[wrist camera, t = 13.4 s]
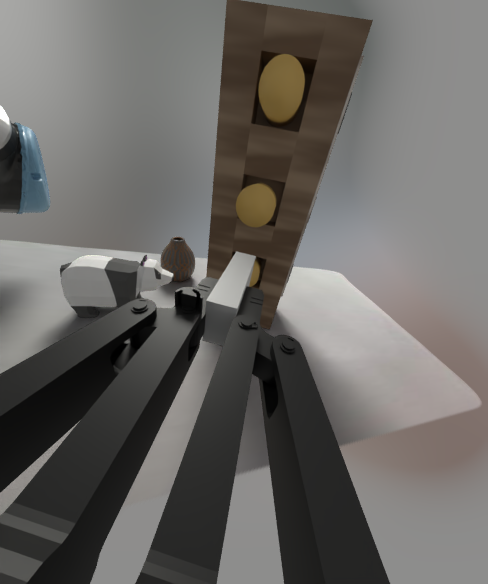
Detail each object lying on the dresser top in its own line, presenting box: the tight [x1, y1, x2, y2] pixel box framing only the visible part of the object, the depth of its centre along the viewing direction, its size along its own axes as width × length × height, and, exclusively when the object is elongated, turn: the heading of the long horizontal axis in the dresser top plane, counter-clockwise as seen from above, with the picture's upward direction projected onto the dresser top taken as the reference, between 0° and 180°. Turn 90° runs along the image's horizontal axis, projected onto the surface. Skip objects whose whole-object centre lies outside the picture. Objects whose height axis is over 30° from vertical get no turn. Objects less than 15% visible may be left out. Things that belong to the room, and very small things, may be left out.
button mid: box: [236, 183, 276, 227], centre depth 21 cm, size 4×4×4 cm
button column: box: [206, 0, 372, 329], centre depth 28 cm, size 8×13×34 cm, turn 79°
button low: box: [249, 257, 261, 287], centre depth 29 cm, size 4×4×4 cm
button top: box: [259, 54, 305, 127], centre depth 19 cm, size 4×4×4 cm
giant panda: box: [60, 255, 174, 318], centre depth 29 cm, size 15×6×10 cm, turn 101°
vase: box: [161, 237, 195, 281], centre depth 40 cm, size 7×7×9 cm
